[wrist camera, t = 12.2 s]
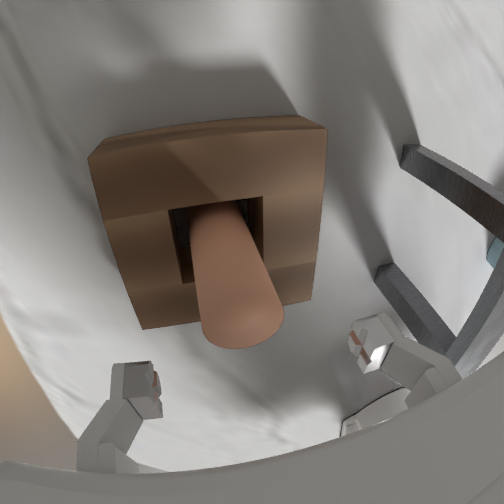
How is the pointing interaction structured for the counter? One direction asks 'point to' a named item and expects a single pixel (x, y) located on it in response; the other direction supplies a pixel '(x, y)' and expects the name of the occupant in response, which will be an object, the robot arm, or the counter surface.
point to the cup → (495, 252)
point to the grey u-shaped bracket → (496, 290)
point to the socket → (210, 191)
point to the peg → (231, 278)
